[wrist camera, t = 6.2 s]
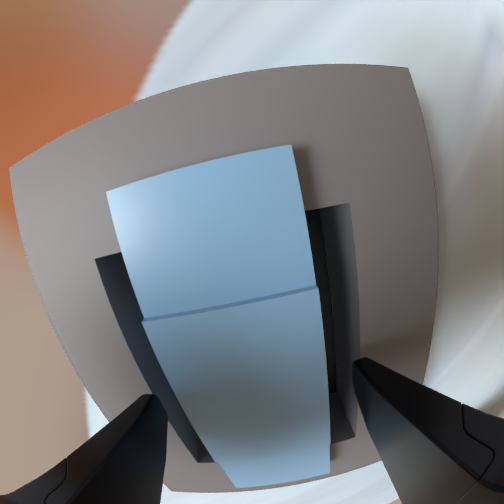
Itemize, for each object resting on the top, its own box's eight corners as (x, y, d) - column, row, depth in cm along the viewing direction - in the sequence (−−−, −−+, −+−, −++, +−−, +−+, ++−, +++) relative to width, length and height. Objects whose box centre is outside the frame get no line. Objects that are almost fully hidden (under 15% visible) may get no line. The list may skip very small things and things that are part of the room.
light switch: (382, 415, 12) (400, 452, 9) (179, 452, 12) (171, 491, 9) (366, 93, 8) (408, 67, 5) (59, 167, 8) (9, 168, 5)
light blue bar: (271, 159, 9) (292, 143, 5) (313, 415, 12) (330, 476, 8) (157, 186, 9) (101, 192, 5) (236, 428, 12) (236, 491, 8)
